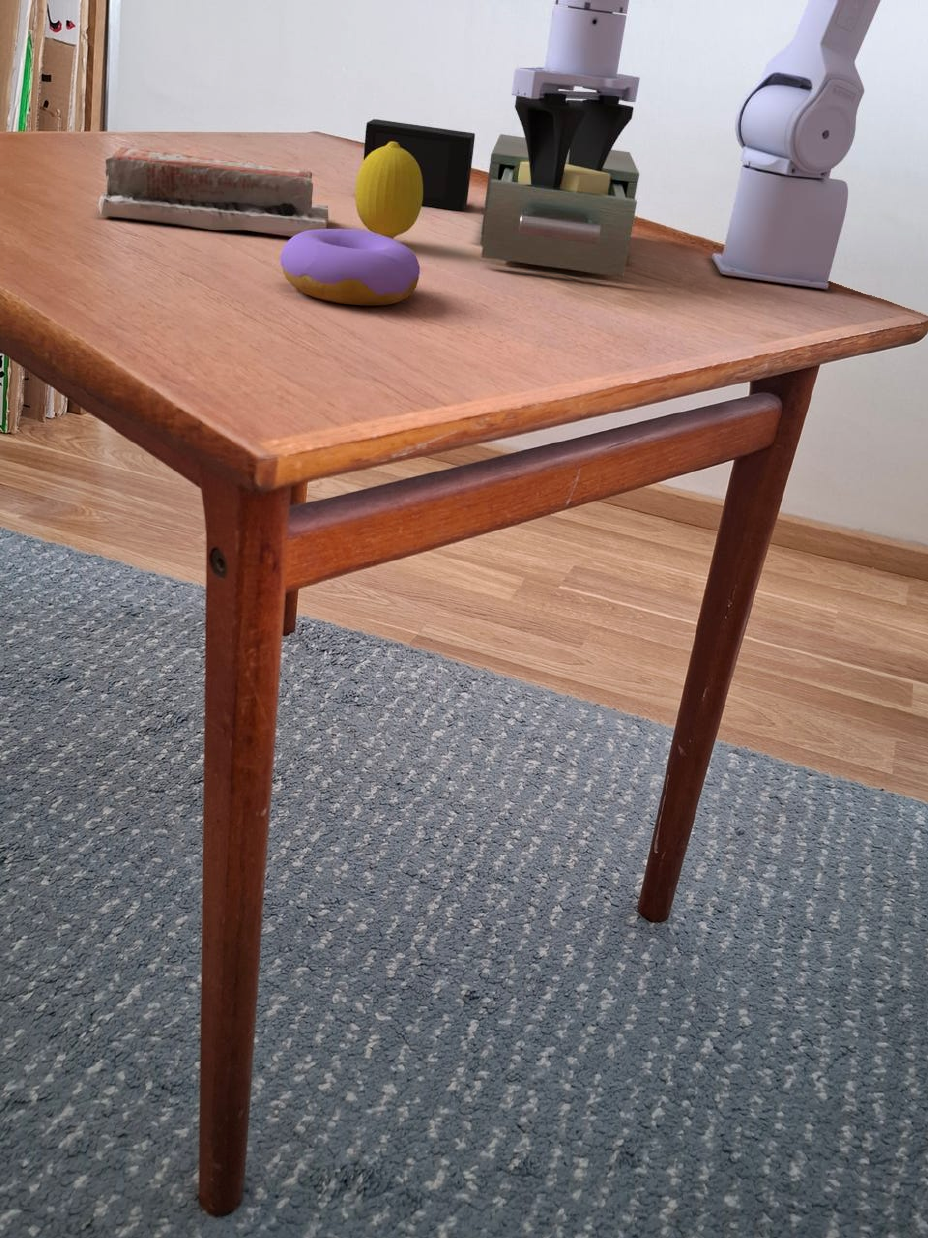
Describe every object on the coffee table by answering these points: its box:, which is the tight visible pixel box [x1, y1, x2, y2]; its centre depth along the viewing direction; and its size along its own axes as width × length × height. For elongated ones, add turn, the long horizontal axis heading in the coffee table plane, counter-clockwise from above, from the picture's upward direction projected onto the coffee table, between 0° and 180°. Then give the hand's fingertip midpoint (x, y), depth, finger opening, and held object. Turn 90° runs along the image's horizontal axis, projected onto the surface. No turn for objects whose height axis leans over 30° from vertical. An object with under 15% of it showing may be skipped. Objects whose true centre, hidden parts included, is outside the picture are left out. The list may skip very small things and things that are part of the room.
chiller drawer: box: [480, 165, 638, 278], centre depth 98 cm, size 19×11×6 cm, turn 176°
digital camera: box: [363, 118, 476, 212], centre depth 119 cm, size 10×5×7 cm, turn 84°
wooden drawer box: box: [479, 133, 640, 246], centre depth 109 cm, size 16×13×8 cm
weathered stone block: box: [97, 146, 329, 238], centre depth 99 cm, size 18×5×10 cm
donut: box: [280, 228, 421, 307], centre depth 82 cm, size 10×9×5 cm
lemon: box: [354, 142, 423, 239], centre depth 98 cm, size 6×6×8 cm
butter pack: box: [518, 162, 611, 195], centre depth 98 cm, size 6×4×4 cm
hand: (561, 194), depth 98 cm, fingers closed on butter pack, 4 cm apart
